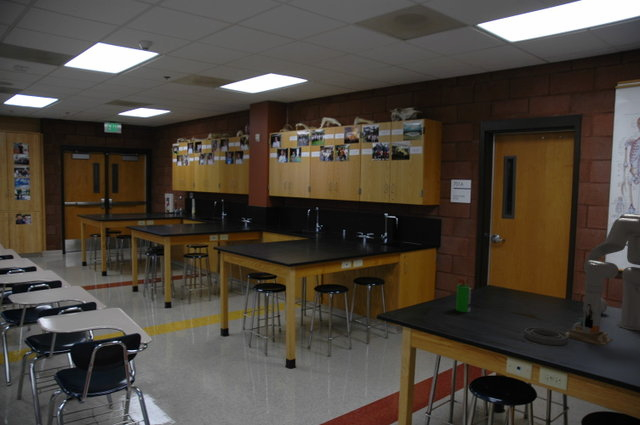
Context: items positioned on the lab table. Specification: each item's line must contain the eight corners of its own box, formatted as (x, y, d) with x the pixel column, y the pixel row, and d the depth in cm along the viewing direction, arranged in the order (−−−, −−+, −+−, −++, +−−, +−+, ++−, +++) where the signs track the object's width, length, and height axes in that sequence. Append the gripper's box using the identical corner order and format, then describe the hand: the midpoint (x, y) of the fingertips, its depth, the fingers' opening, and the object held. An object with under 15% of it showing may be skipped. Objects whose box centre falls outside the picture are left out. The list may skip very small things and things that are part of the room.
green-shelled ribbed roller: (472, 312, 262) (474, 281, 261) (458, 312, 263) (459, 280, 262) (467, 308, 272) (469, 277, 271) (453, 307, 272) (455, 277, 271)
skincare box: (589, 334, 219) (591, 309, 218) (582, 331, 223) (583, 306, 223) (599, 333, 221) (601, 308, 220) (592, 330, 225) (594, 306, 224)
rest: (572, 330, 235) (573, 323, 235) (612, 339, 222) (612, 332, 222) (561, 335, 225) (562, 328, 225) (602, 345, 213) (603, 338, 212)
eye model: (601, 311, 274) (602, 294, 274) (610, 316, 264) (611, 299, 264) (583, 310, 275) (584, 294, 275) (591, 315, 265) (592, 298, 264)
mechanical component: (530, 330, 234) (530, 324, 234) (571, 339, 222) (571, 333, 222) (519, 339, 220) (519, 332, 220) (562, 348, 208) (562, 342, 208)
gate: (579, 326, 240) (579, 317, 239) (583, 327, 238) (584, 318, 238) (570, 330, 232) (571, 321, 232) (575, 331, 230) (575, 322, 230)
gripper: (591, 285, 229) (589, 320, 230) (578, 289, 218) (576, 327, 219) (608, 288, 224) (606, 324, 225) (596, 292, 212) (594, 331, 213)
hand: (591, 325), depth 222 cm, fingers closed on skincare box, 7 cm apart
